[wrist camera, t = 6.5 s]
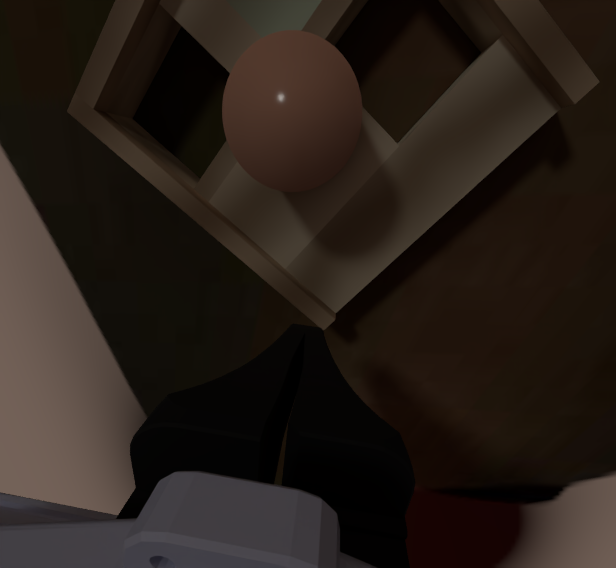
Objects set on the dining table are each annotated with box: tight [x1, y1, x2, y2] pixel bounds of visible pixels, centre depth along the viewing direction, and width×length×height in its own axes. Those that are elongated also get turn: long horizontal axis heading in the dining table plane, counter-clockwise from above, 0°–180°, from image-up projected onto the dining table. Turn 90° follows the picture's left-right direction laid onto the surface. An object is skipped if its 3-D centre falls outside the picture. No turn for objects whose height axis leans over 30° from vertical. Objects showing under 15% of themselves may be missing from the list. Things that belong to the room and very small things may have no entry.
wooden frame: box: [67, 0, 599, 330], centre depth 14 cm, size 17×16×3 cm
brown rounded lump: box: [222, 30, 362, 192], centre depth 12 cm, size 5×5×4 cm
